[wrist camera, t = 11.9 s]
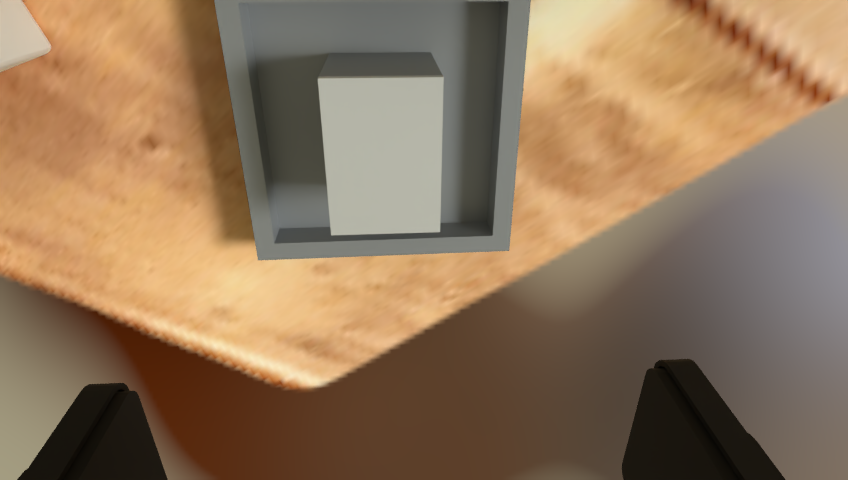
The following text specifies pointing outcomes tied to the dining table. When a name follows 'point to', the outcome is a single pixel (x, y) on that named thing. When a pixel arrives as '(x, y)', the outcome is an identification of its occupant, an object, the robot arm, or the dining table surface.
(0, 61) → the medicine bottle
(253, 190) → the tray
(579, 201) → the dining table surface
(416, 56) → the gray block
